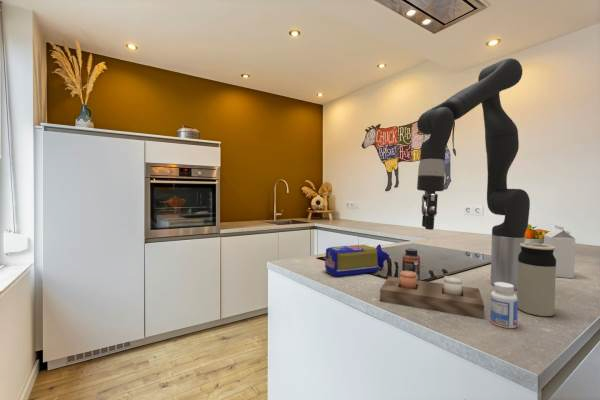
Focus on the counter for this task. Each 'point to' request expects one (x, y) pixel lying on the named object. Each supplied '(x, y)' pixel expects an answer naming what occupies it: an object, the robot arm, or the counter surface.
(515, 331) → the counter surface
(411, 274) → the orange lidded jar
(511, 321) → the pill bottle
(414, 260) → the supplement bottle
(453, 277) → the white lidded jar
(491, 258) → the robot arm
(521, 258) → the travel mug
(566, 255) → the milk carton
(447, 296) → the panel
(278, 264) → the counter surface
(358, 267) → the bread
